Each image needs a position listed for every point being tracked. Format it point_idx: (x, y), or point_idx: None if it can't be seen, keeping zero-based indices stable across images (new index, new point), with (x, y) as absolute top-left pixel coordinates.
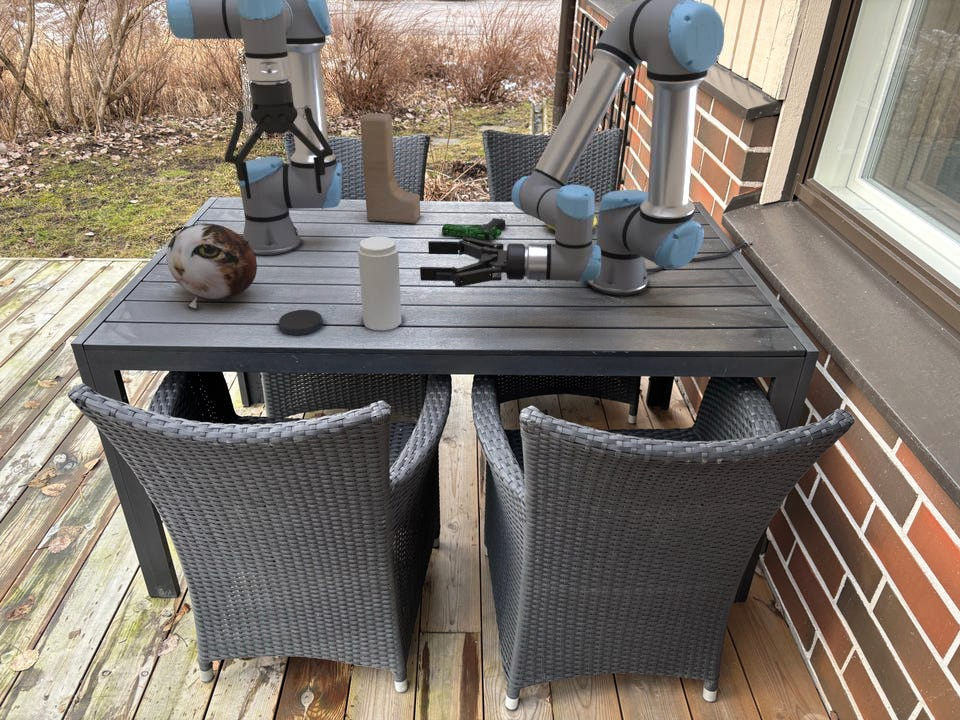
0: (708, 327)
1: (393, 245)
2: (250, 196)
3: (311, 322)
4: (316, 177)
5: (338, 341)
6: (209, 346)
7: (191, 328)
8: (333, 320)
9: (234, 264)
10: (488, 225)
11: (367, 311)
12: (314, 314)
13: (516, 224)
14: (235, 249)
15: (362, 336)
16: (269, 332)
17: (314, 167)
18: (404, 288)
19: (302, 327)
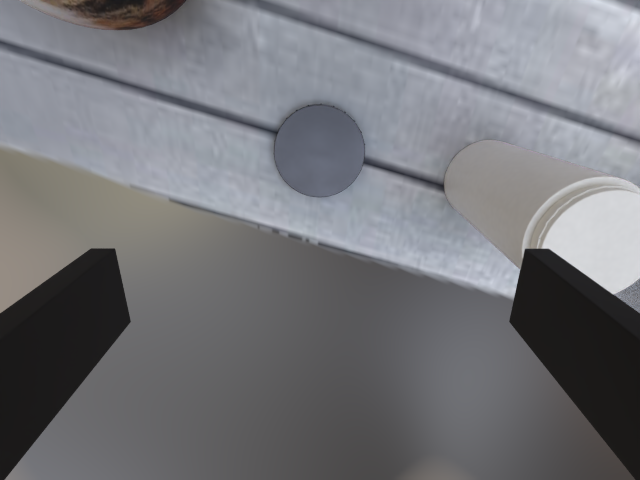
0: None
1: (636, 280)
2: (121, 329)
3: (340, 175)
4: (565, 391)
5: (380, 234)
6: (142, 189)
7: (87, 97)
8: (388, 145)
9: (135, 8)
10: None
11: (460, 211)
12: (351, 139)
13: None
14: None
15: (427, 228)
16: (254, 163)
17: (628, 361)
18: (601, 10)
19: (319, 193)
